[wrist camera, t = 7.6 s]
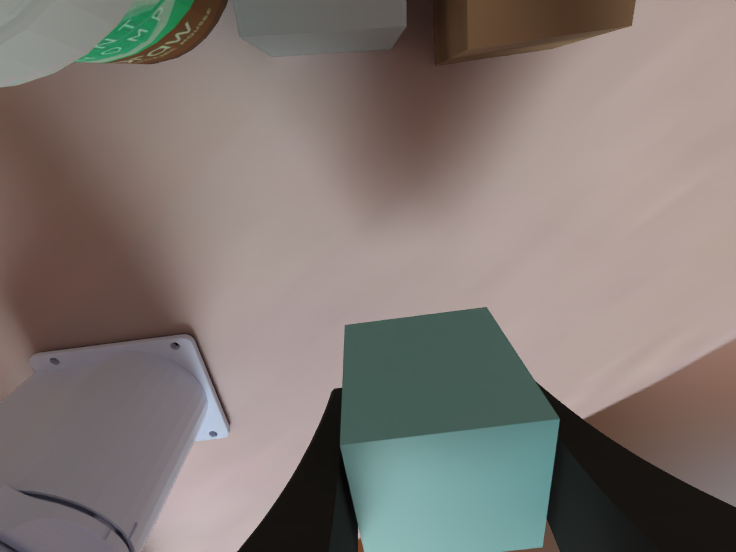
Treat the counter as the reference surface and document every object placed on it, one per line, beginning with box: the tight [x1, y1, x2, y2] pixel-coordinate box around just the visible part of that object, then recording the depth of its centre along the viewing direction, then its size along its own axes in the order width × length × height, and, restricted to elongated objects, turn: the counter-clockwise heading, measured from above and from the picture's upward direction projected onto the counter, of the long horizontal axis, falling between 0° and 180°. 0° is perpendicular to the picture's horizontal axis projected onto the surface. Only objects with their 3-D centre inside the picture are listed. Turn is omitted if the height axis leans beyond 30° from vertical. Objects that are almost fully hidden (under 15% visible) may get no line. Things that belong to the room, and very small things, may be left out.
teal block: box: [340, 307, 560, 552], centre depth 12 cm, size 5×5×5 cm
